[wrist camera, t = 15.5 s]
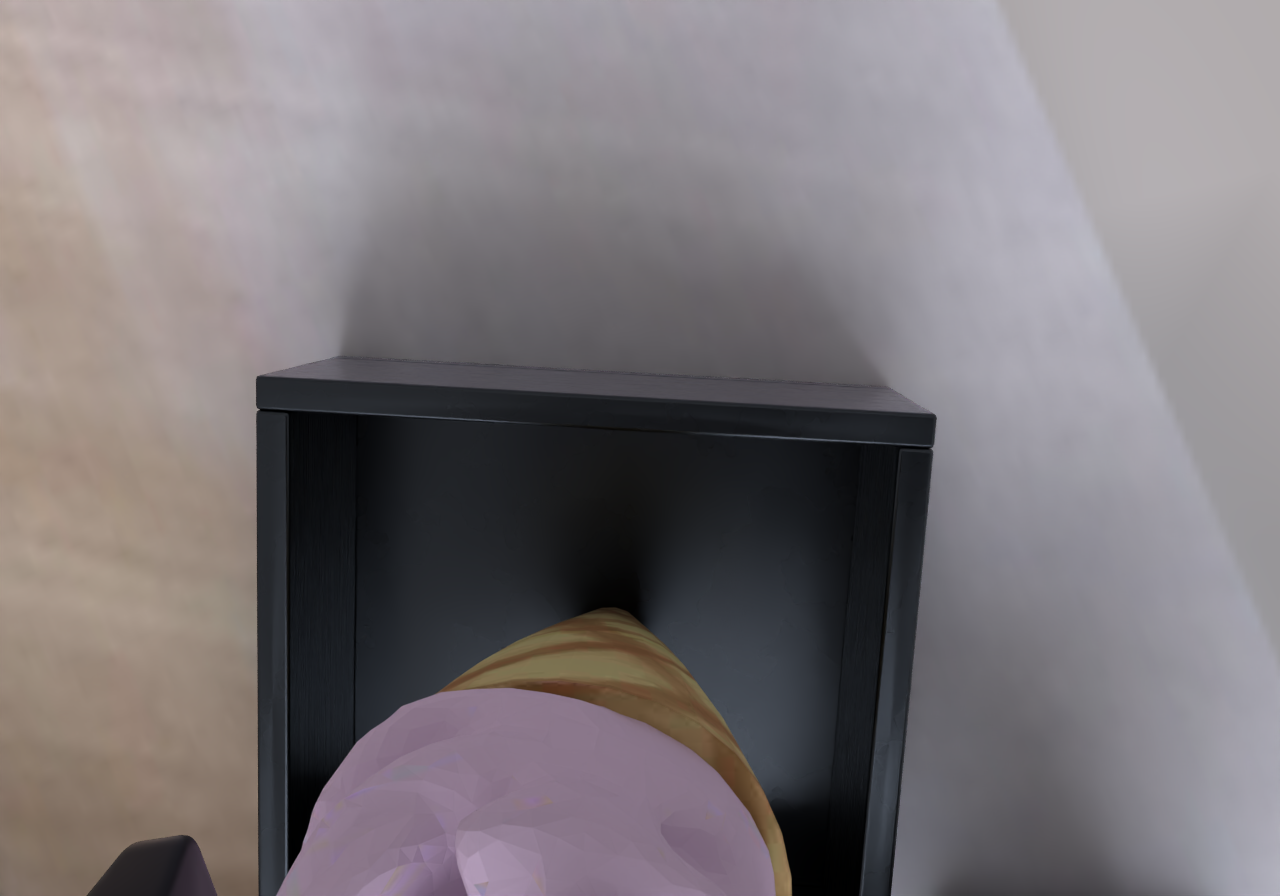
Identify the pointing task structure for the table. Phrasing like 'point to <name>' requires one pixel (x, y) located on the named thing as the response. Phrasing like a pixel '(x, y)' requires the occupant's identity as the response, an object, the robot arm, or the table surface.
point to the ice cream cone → (549, 783)
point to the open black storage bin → (596, 567)
